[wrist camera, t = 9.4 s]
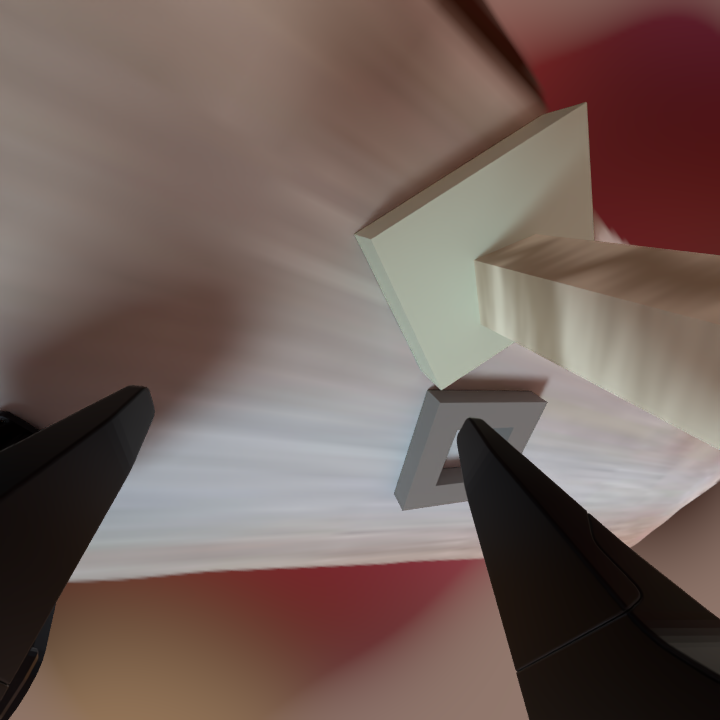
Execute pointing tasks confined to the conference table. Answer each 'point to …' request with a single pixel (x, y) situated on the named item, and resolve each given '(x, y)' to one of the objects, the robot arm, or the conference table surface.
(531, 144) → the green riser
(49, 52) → the conference table surface
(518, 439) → the pocket holder
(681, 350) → the cream block
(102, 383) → the conference table surface
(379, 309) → the conference table surface
